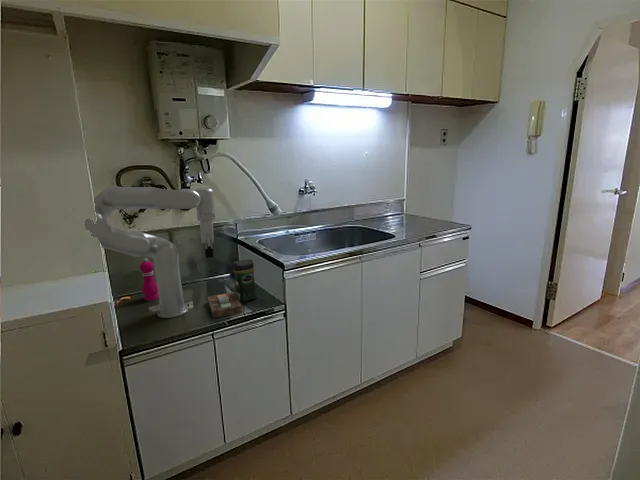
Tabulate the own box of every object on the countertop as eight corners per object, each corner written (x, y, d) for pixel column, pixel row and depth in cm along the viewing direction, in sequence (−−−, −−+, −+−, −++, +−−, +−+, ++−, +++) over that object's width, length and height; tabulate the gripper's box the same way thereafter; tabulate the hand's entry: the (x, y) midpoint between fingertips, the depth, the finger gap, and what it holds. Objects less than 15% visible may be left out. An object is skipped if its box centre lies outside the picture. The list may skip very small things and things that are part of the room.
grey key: (220, 306, 161) (219, 300, 161) (218, 303, 165) (218, 297, 164) (229, 304, 163) (228, 298, 162) (228, 301, 166) (227, 295, 166)
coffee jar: (252, 293, 179) (249, 256, 174) (259, 298, 172) (256, 260, 168) (233, 298, 174) (229, 260, 169) (239, 303, 167) (235, 264, 163)
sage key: (222, 314, 157) (221, 307, 156) (221, 310, 160) (220, 304, 160) (232, 312, 158) (231, 305, 157) (230, 308, 162) (229, 302, 161)
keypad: (213, 318, 154) (212, 311, 153) (208, 302, 170) (207, 296, 169) (242, 312, 158) (241, 305, 157) (234, 297, 174) (233, 291, 174)
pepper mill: (148, 302, 173) (141, 261, 168) (140, 299, 177) (133, 259, 172) (163, 297, 178) (156, 257, 174) (155, 294, 183) (148, 255, 178)
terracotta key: (218, 304, 166) (218, 298, 166) (217, 301, 170) (216, 295, 169) (227, 303, 168) (227, 297, 167) (226, 299, 172) (225, 294, 171)
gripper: (196, 214, 169) (200, 254, 173) (197, 219, 155) (201, 262, 159) (213, 213, 171) (217, 252, 175) (216, 218, 157) (219, 260, 161)
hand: (209, 257), depth 167 cm, fingers closed
